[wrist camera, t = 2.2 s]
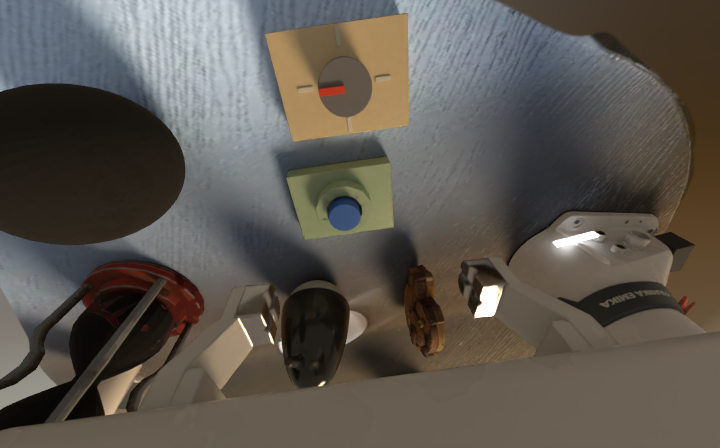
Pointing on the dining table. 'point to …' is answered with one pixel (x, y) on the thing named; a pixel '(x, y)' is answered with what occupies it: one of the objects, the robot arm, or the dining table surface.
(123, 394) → the mug
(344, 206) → the button
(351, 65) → the dial
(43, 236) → the decorative egg
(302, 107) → the dial panel
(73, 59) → the dining table surface
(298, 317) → the pump dispenser
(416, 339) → the wooden carving
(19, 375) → the hourglass
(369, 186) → the button housing
